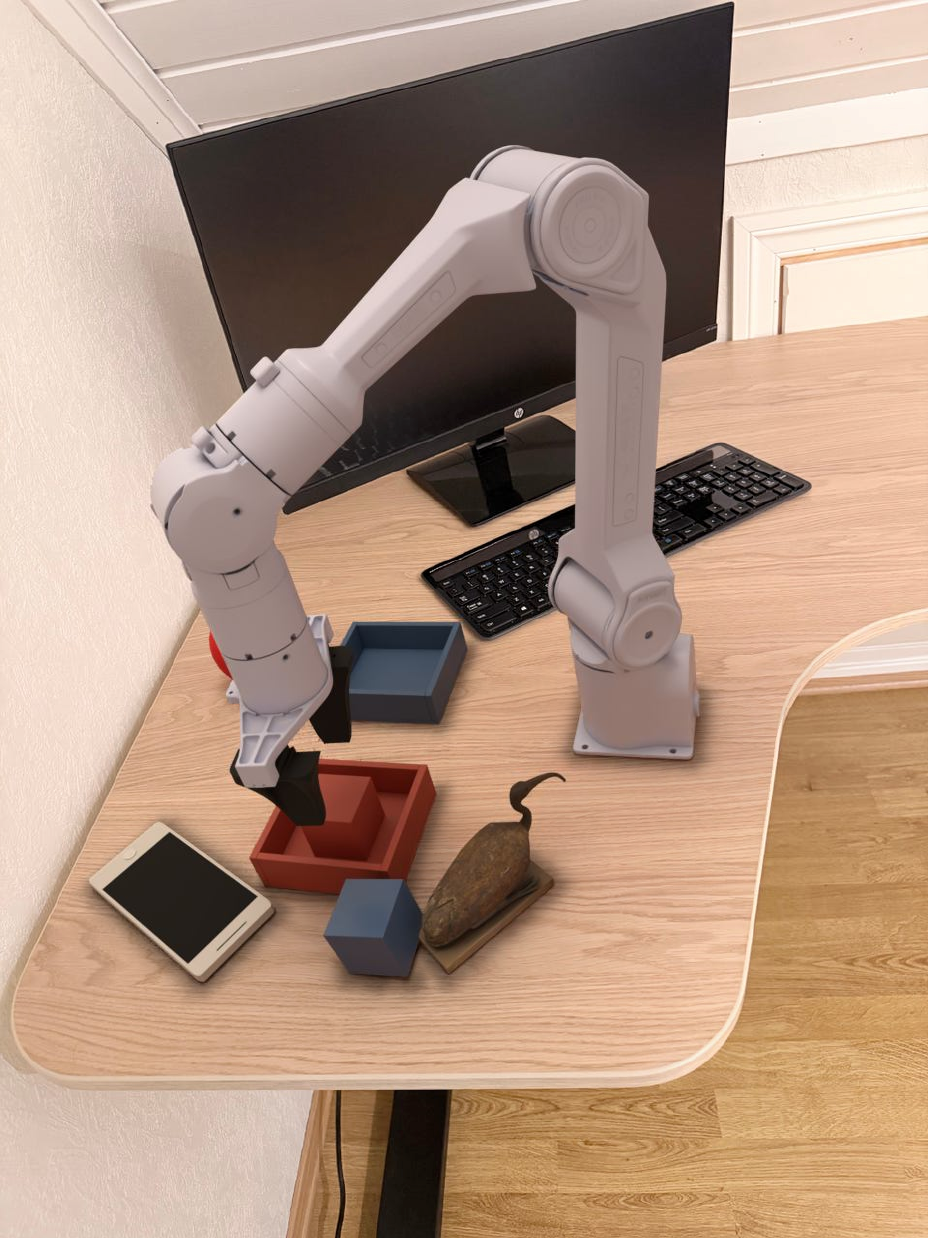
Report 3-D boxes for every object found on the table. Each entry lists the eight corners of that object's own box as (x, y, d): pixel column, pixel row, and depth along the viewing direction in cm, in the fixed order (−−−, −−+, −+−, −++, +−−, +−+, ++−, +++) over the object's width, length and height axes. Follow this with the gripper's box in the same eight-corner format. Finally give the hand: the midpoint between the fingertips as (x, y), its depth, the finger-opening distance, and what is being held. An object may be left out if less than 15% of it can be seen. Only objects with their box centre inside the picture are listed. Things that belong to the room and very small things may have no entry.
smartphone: (162, 826, 77) (158, 818, 77) (277, 910, 68) (273, 902, 67) (91, 887, 73) (85, 880, 73) (202, 985, 64) (197, 977, 63)
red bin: (436, 793, 74) (427, 764, 72) (398, 901, 66) (387, 871, 64) (313, 785, 78) (300, 757, 75) (263, 886, 70) (248, 857, 68)
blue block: (426, 918, 64) (403, 879, 62) (407, 977, 61) (382, 937, 58) (370, 917, 66) (345, 878, 63) (349, 974, 62) (322, 935, 60)
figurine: (555, 817, 70) (538, 737, 65) (596, 849, 67) (582, 768, 61) (410, 934, 64) (379, 857, 59) (449, 976, 61) (419, 897, 56)
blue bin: (467, 649, 88) (460, 621, 86) (439, 724, 80) (430, 695, 78) (362, 648, 92) (352, 621, 89) (325, 720, 84) (314, 692, 82)
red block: (385, 814, 73) (371, 776, 70) (367, 861, 69) (351, 822, 67) (334, 811, 74) (318, 773, 71) (314, 856, 71) (296, 818, 68)
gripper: (241, 569, 63) (300, 710, 71) (159, 715, 52) (240, 864, 60) (336, 560, 62) (386, 706, 70) (273, 709, 50) (341, 862, 58)
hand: (325, 779), depth 65 cm, fingers open, 7 cm apart
